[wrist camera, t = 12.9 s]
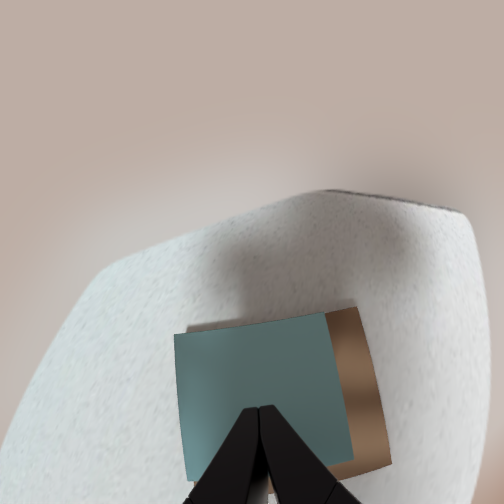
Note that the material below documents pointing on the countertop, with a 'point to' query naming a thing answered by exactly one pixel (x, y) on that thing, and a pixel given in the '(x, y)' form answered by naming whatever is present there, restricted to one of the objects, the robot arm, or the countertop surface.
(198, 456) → the teal rectangular prism
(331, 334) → the post board
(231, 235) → the countertop surface
